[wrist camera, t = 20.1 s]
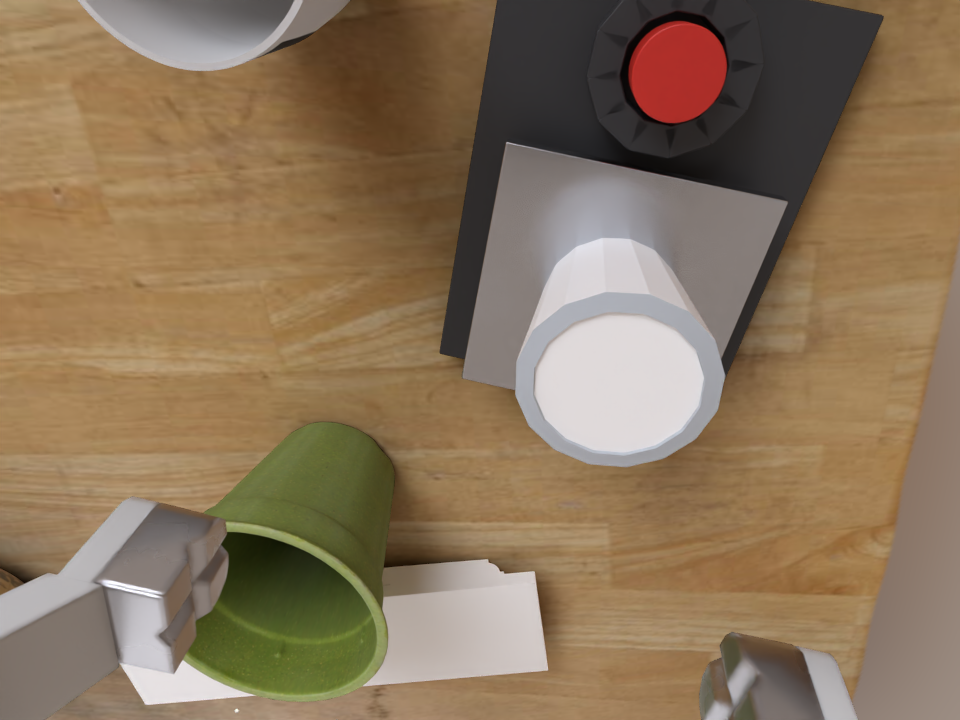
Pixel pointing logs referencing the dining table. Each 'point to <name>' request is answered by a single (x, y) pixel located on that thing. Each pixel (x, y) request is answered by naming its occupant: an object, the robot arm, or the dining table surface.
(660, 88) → the button
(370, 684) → the thin cream plank
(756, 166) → the scale
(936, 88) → the dining table surface
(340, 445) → the plant pot
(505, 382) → the scale platter
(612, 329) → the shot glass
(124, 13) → the cup
